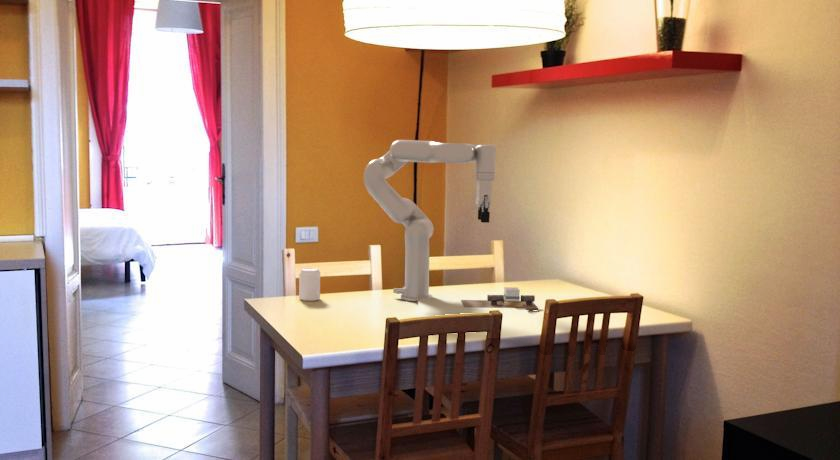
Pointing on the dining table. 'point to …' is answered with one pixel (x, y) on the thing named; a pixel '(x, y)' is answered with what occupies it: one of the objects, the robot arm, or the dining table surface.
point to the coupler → (511, 294)
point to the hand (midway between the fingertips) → (483, 221)
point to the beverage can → (309, 284)
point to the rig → (502, 302)
